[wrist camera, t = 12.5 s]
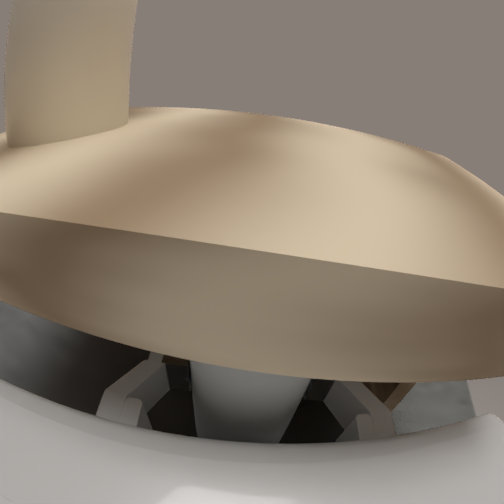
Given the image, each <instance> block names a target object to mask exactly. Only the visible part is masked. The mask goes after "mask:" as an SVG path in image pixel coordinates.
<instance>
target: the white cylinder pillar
mask: <svg viewBox="0 0 504 504" xmlns="http://www.w3.org/2000/svg"><path fill="white" fill-rule="evenodd" d="M190 372H191V384H192V396H193V406H194V416H195V426H196V432H197V435H198V438H206V439H215V440H224V441H236V442H251V443H276V444H278V443H279V442H280V440H281V438H282V436H283V434H284V432H285V431H286V429H287V427H288V425H289V423H290V421H291V419H292V417H293V415H294V413H295V411H296V409H297V407H298V405H299V403H300V401H301V399H302V397H303V395H304V393H305V391H306V389H307V387H308V385H309V383H310V381H311V378H303V377H293V376H285V375H276V374H268V373H261V372H254V371H247V370H241V369H235V368H229V367H223V366H217V365H212V364H207V363H202V362H197V361H192V360H190Z"/></svg>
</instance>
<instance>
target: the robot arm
mask: <svg viewBox="0 0 504 504" xmlns="http://www.w3.org/2000/svg"><path fill="white" fill-rule="evenodd" d="M190 388H191V372H190V360H187V359H182V358H178V357H173V356H169V355H164V354H160V353H156V352H152V351H151V352H150V355H149V358H148V360H144V361H142V362H141V363H140V364H138V365H137V366H136V367H134V368H133V369H132V370H130V371H129V372H128V373H127V374H125V375H124V376H123V377H121V378H120V379H119V380H117V381H116V382H115V383H113V384H112V385H111V386H109V387H108V388H107V389H105V391H104V393H103V396H102V399H101V402H100V404H99V407H98V410H97V413H96V416H95V415H92V414H88V413H85V412H82V411H79V410H76V409H73V408H70V407H67V406H64V405H61V404H59V403H56V402H53V401H51V400H48V399H45V398H43V397H40V396H38V395H35V394H33V393H31V392H28V391H26V390H24V389H22V388H19V387H17V386H15V385H13V384H11V383H9V382H6V381H4V380H2V379H0V504H504V422H503V421H502V420H500V419H499V418H498V417H497V416H495V415H494V414H492V413H487V414H484V415H481V416H477V417H474V418H471V419H467V420H464V421H460V422H456V423H453V424H449V425H445V426H440V427H436V428H432V429H427V430H422V431H418V432H412V433H407V434H401V435H396V431H395V427H394V423H393V419H392V415H391V412H390V410H389V409H388V408H387V407H386V406H385V405H384V404H383V403H382V402H381V401H380V400H379V399H378V398H377V397H376V396H375V395H374V394H373V393H372V392H371V391H370V390H369V389H368V388H367V387H366V386H365V385H364V384H363V383H362V382H358V381H340V380H326V379H314V378H311V381H310V383H309V385H308V387H307V389H306V391H305V393H304V400H324V401H323V402H324V403H325V405H326V406H327V407H328V409H329V410H330V411H331V413H332V414H333V415H334V417H335V418H336V419H337V421H338V422H339V423H340V425H341V426H342V427H343V429H344V432H343V433H342V434H341V435H340V436H339V437H338V438H337V439H336V442H330V443H305V444H276V443H251V442H236V441H224V440H215V439H206V438H198V437H191V436H184V435H178V434H172V433H166V432H161V431H156V430H152V426H151V423H150V421H149V418H148V416H147V412H148V411H149V410H150V409H151V408H152V407H153V406H154V405H155V404H156V403H157V402H158V401H159V400H160V399H161V398H162V397H163V396H164V395H165V394H166V393H167V392H168V391H169V390H170V389H176V390H184V391H190Z"/></svg>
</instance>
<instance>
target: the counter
mask: <svg viewBox="0 0 504 504" xmlns="http://www.w3.org/2000/svg"><path fill="white" fill-rule="evenodd" d="M0 300H1V301H3V302H5V303H7V304H10V305H12V306H15V307H17V308H19V309H22V310H24V311H27V312H29V313H32V314H34V315H37V316H39V317H42V318H45V319H47V320H50V321H53V322H56V323H58V324H61V325H64V326H67V327H70V328H73V329H76V330H79V331H82V332H85V333H88V334H91V335H94V336H98V337H101V338H104V339H108V340H111V341H115V342H118V343H122V344H125V345H129V346H133V347H136V348H140V349H144V350H148V351H152V352H156V353H160V354H164V355H169V356H173V357H178V358H182V359H187V360H192V361H197V362H202V363H207V364H212V365H217V366H223V367H229V368H235V369H241V370H247V371H254V372H261V373H268V374H276V375H285V376H293V377H303V378H314V379H326V380H340V381H358V382H362V383H363V384H364V385H365V386H366V387H367V388H368V389H369V390H370V391H371V392H372V393H373V394H374V395H375V396H376V397H377V398H378V399H379V400H380V401H381V402H382V403H383V404H384V405H385V406H386V407H387V408H388V409H389V410H390V412H391V411H392V410H393V409H394V408H395V407H396V406H397V405H398V403H399V402H400V401H401V400H402V399H403V398H404V397H405V395H406V394H407V393H408V392H409V391H410V390H411V388H412V387H413V386H414V385H415V383H416V382H443V381H460V380H473V379H483V378H493V377H502V376H504V196H502V195H501V194H500V193H498V192H497V191H496V190H494V189H493V188H491V187H490V186H488V185H487V184H486V183H485V182H483V181H482V180H480V179H479V178H477V177H476V176H474V175H473V174H471V173H470V172H468V171H467V170H465V169H464V168H462V167H461V166H459V165H457V164H456V163H454V162H452V161H451V160H450V159H448V158H446V157H444V156H442V155H439V154H436V153H433V152H430V151H427V150H424V149H421V148H417V147H414V146H411V145H408V144H404V143H401V142H397V141H394V140H390V139H386V138H383V137H379V136H375V135H371V134H367V133H363V132H359V131H354V130H350V129H345V128H341V127H335V126H331V125H326V124H321V123H315V122H310V121H304V120H298V119H292V118H285V117H279V116H272V115H264V114H256V113H247V112H237V111H226V110H214V109H197V108H175V107H174V108H173V107H129V117H128V124H126V125H124V126H122V127H120V128H117V129H114V130H110V131H107V132H103V133H99V134H94V135H90V136H85V137H81V138H76V139H71V140H66V141H60V142H55V143H49V144H43V145H36V146H28V147H9V146H7V139H6V132H3V133H1V134H0Z"/></svg>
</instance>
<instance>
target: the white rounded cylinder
mask: <svg viewBox="0 0 504 504" xmlns="http://www.w3.org/2000/svg"><path fill="white" fill-rule="evenodd" d="M137 3H138V0H13V1H12V7H11V12H10V19H9V26H8V33H7V44H6V54H5V73H4V107H5V126H6V139H7V146H9V147H28V146H36V145H43V144H49V143H55V142H60V141H66V140H71V139H76V138H81V137H85V136H90V135H94V134H99V133H103V132H107V131H110V130H114V129H117V128H120V127H122V126H124V125H126V124H128V117H129V85H130V68H131V54H132V42H133V34H134V25H135V17H136V10H137Z"/></svg>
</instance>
